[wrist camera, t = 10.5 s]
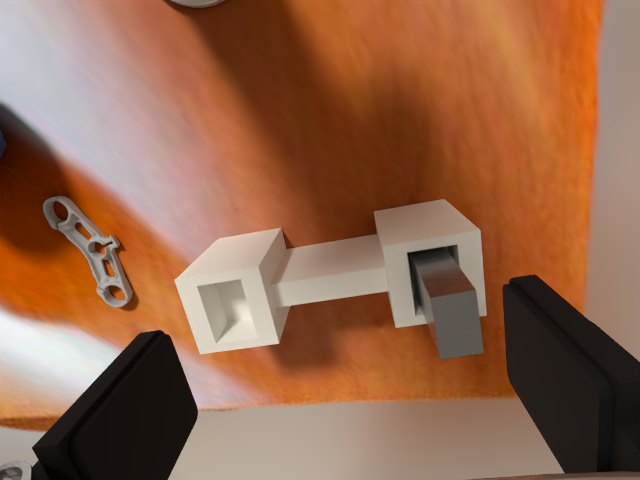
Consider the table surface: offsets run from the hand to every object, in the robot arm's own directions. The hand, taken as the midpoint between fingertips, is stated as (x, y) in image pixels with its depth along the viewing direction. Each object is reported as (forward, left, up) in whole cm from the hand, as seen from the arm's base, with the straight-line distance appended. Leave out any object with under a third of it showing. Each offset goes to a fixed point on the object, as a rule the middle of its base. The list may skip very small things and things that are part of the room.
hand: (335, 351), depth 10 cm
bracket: (+4, -33, -34) cm, 47 cm away
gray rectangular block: (+9, +6, -25) cm, 27 cm away
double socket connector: (+9, -3, -33) cm, 34 cm away
